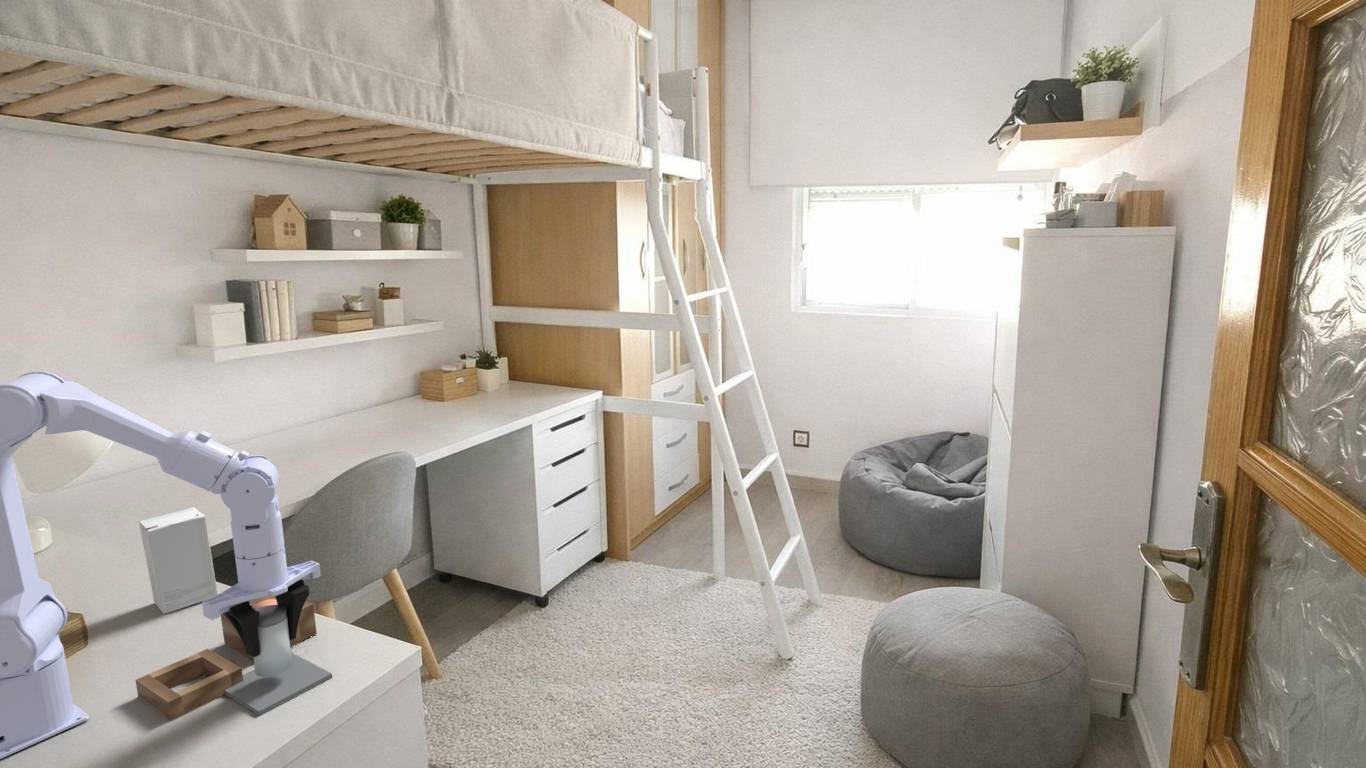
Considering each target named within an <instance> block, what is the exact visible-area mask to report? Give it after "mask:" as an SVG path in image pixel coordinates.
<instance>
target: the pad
mask: <svg viewBox="0 0 1366 768" xmlns="http://www.w3.org/2000/svg"><path fill="white" fill-rule="evenodd" d="M291 659H292V665H291V667H290V668H289V669H288V670H286V671H285V672H283V673H280V674H278V675H274V676H269V677H262V676H258V675H256V673H255V668H254V669H252V670H250V671H248V672H246V673H244V674H243V681H242V682H240V683H238V684H236V685H234V686H231V687H229V688H227V689H225V690H224V693H225V694H224V695H225V696H227V697H229V698H231V699H232V700H234V701H235V702H237V703H238V704H240V705H242V706H243V707H245V708H246V709H248V710H250V711H252V712H254V714H256V715H258V716H262V715H263V714H265V713H268V712H269V711H272V710H273V709H275V708H276V707H278V706H280V705H283V704H285V703H286V702H288V701H290V700H292V699H294V698H296V697H298V696H300V695H301V694H303V693H305V692H307V691H309V690H311V689H313V688H315V687H317V686H318V685H321V684H323V683H324V682H326V681H328V680H330V679H331V677H332V678H333V673H332V672H330V671H328V670H326V669H324V668H323V667H320V666H318V665H316V664H314V663H312V662H310V661H309V660H307V659H304V658H303V657H301V656H299V655H297V654H295V653H293V652H291ZM329 678H330V679H329ZM327 679H328V680H327ZM323 681H324V682H323ZM322 682H323V683H322ZM320 683H321V684H320Z"/></svg>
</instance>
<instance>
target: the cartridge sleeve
mask: <svg viewBox="0 0 1366 768" xmlns="http://www.w3.org/2000/svg"><path fill="white" fill-rule="evenodd" d="M203 674H205V675H206V676H208V677H206V678H203V679H202V680H199V681H197V682H195V683H193V684H190V685H189V686H186V687H184V688H182V689H180V690H178V691H175V690H173V689H172V688H174V687H177V686H179V685H181V684H184V683H185V682H187V681H190V680H193V679H194V678H196V677H199V676H201V675H203ZM243 675H244V674H243V669H242V667H241V666H239V665H237V664H235V663H234V662H231V661H230V660H229V659H227V658H224V657H223V656H222V655H219V654H217V653H216V652H214V651H212V650H211V649H208V648H206V649H204V650H202V651H199V652H197V653H195V654H192V655H189V656H188V657H186V658H183V659H181V660H179V661H176V662H174V663H171V664H169V665H166V666H165V667H163V668H159V669H158V670H155V671H152V672H150V673H148V674H145V675H143V676H142V677H141V676H140V677H139V678H137V679H135V686H136V691H137V692H136V693H137V697H138V698H139V699H141V700H142V701H143V702H145V703H146V704H148V705H149V706H151V707H152V708H153V709H154V710H156V711H157V712H159V713H160V714H162V715H163V716H165V717H166V718H168V719H169V720H170V721H173V720H174V719H176V718H179V717H180V716H183V715H184V714H186V713H188V712H191V711H193V710H195V709H197V708H199V707H202V706H203V705H205V704H207V703H209V702H212V701H213V700H215V699H218V698H219V697H221V696H224V695H225V693H224V690H225V689H227V688H229V687H231V686H234V685H236V684H238V683H240V682H242V681H243Z"/></svg>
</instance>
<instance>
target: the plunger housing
mask: <svg viewBox="0 0 1366 768" xmlns="http://www.w3.org/2000/svg"><path fill="white" fill-rule="evenodd" d="M269 599H276V597H275V596H271V595H269V596H265V597H262V598H259V599H257V600H254V601H252V602H249V603H250V605H252V607H253V609H254V610H255V605H256V604H257V603H259V602H261V601H264V600H269ZM315 615H316V614H315V607H314V603H312V602H310V601H308V600H306V601H305V603H304V606H303V608H302V611H301V614H300V618H299V622H298V627H297V633H296V638H295V639H293V640H290V639H289V640H290V648H291V647H293V646H295V645H297V644H299V643H301V642H300V641H302V640H304V639H306V640H308V639H310V638H312V637H314V636H316V635H315V634H317V625H316V616H315ZM220 619H221V620H220V621H221V627H222V629H221V630H222V634H223V635H222V636H223V641H224V645H225V646H227V647H229V648H231V649H233V650H234V651H236V652H238V653H240V654H242V655H244V656H245V657H247V658H249V659H250V660H253V661H254V658H253V656H251V655H249V654H248V653H247V652H246V649H245V647H244V644H243V642H242V640H241V638H240V636H239V634H238V632H237V631H236V629H235V628H234V626H233V625H232V624H231V622H230V621H229V620H228V619H227V618H226V616H225V615H224V614H223V613H222V614H220ZM313 635H314V636H313ZM311 636H312V637H311ZM309 637H310V638H309ZM307 638H308V639H307ZM304 641H305V640H304ZM298 642H299V643H298ZM302 642H303V641H302ZM294 644H295V645H294Z"/></svg>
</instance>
